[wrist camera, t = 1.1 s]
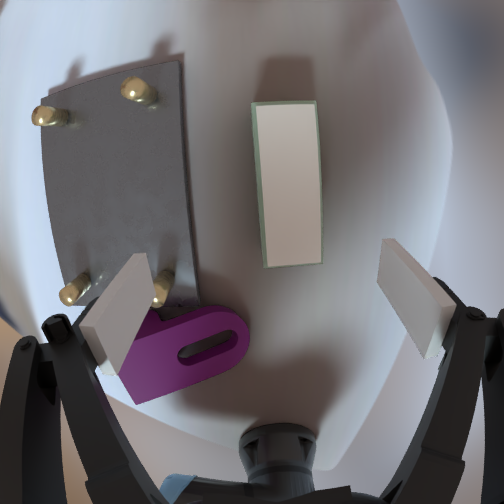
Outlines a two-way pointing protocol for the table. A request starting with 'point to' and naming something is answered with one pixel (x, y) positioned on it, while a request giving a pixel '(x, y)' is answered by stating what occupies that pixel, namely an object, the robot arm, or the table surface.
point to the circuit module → (288, 182)
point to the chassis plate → (119, 183)
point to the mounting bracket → (168, 345)
